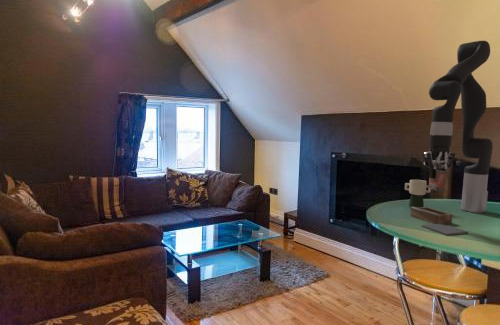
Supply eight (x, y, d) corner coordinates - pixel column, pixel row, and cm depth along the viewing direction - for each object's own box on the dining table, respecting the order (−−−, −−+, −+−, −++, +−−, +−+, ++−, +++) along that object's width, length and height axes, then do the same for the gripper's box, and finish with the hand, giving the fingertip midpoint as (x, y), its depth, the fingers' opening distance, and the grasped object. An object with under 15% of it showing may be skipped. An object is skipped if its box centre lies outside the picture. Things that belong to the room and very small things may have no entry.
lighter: (425, 187, 139) (428, 162, 138) (434, 187, 139) (436, 162, 138) (438, 190, 131) (440, 164, 130) (446, 191, 131) (449, 164, 130)
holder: (425, 214, 149) (426, 205, 149) (451, 223, 137) (452, 213, 136) (410, 215, 146) (411, 206, 146) (435, 224, 134) (436, 214, 134)
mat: (442, 224, 134) (442, 223, 134) (467, 233, 124) (468, 231, 124) (421, 226, 131) (421, 225, 131) (446, 235, 120) (446, 233, 120)
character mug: (430, 208, 162) (432, 180, 160) (428, 211, 156) (430, 182, 154) (404, 205, 168) (406, 178, 166) (402, 207, 162) (404, 180, 161)
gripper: (447, 134, 139) (443, 177, 140) (418, 133, 134) (414, 177, 136) (463, 135, 132) (459, 179, 133) (434, 133, 127) (430, 180, 129)
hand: (436, 178), depth 135 cm, fingers closed on lighter, 4 cm apart
